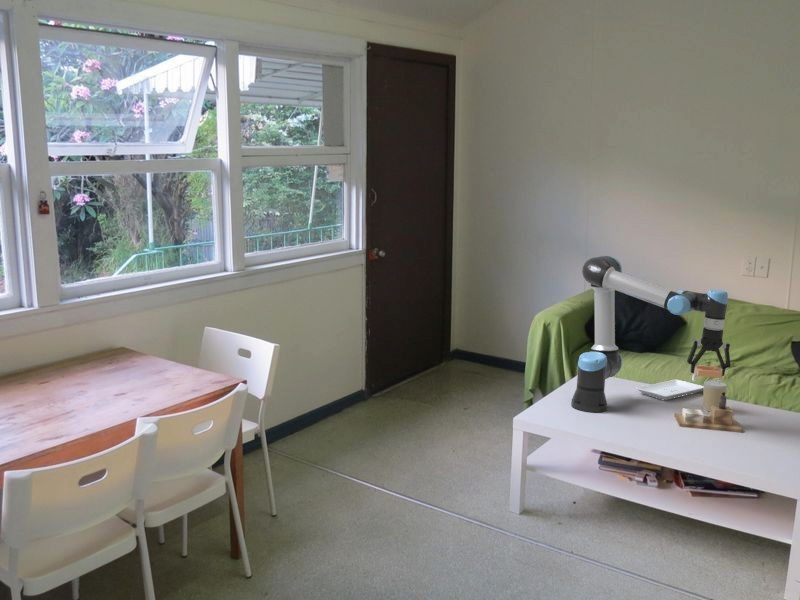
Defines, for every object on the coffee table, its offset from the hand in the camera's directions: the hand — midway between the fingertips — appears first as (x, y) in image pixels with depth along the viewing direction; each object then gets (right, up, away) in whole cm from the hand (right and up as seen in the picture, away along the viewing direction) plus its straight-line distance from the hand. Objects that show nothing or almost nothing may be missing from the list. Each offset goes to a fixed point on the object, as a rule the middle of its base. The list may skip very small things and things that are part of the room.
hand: (706, 382), depth 299 cm
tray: (+2, -11, +45) cm, 46 cm away
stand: (+1, -17, +2) cm, 18 cm away
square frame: (0, +3, -1) cm, 3 cm away
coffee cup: (+12, -15, +21) cm, 28 cm away
